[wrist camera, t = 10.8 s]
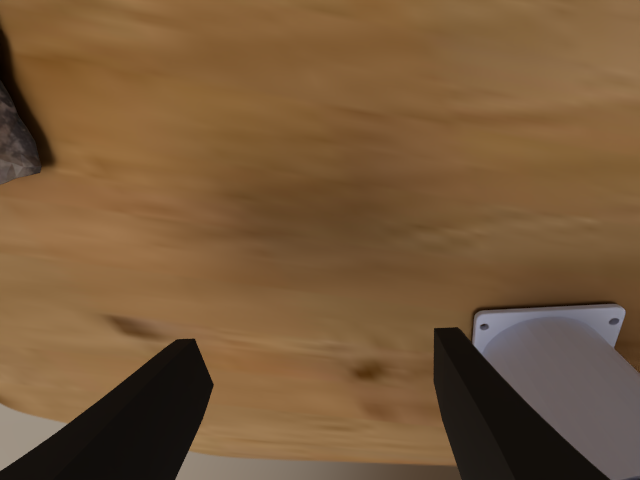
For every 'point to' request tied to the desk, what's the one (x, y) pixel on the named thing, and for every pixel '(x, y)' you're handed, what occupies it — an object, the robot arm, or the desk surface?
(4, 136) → the geode
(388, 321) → the desk surface
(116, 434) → the robot arm
